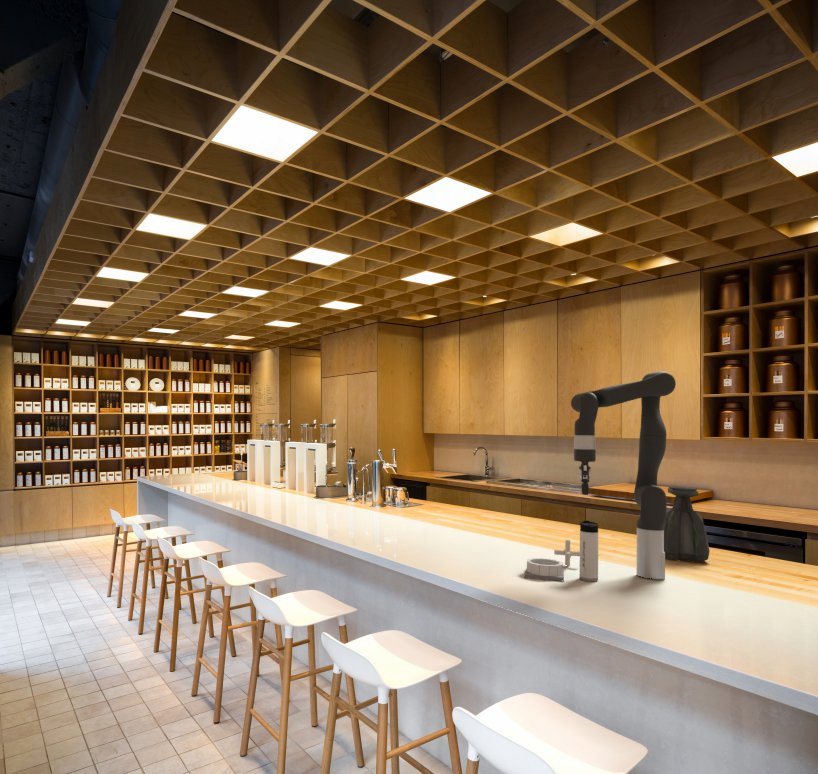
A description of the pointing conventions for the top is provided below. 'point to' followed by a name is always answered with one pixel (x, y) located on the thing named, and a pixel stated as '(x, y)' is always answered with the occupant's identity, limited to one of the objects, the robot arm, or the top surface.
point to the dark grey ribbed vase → (684, 529)
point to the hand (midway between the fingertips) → (584, 493)
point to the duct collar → (544, 569)
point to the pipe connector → (567, 552)
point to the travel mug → (588, 551)
